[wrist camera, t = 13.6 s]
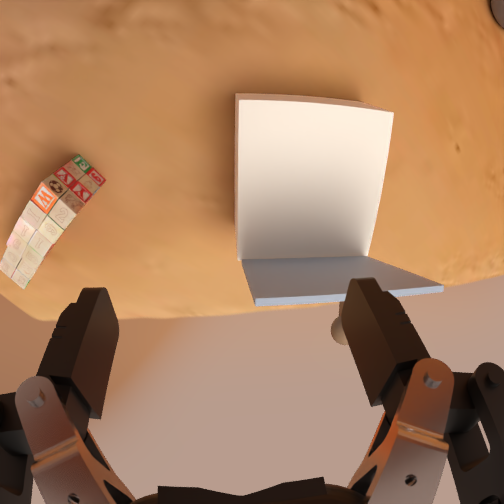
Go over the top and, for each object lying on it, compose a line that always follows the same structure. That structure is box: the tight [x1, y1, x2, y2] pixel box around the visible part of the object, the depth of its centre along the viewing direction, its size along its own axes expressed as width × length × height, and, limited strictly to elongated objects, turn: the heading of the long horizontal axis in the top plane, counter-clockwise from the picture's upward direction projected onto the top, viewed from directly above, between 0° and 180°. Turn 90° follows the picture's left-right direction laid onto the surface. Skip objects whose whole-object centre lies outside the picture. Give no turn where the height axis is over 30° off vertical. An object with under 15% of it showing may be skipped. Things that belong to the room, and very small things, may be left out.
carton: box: [235, 93, 394, 260], centre depth 41 cm, size 20×18×10 cm
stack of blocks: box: [0, 155, 106, 289], centre depth 41 cm, size 21×6×12 cm, turn 130°
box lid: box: [242, 256, 444, 345], centre depth 34 cm, size 18×17×6 cm
